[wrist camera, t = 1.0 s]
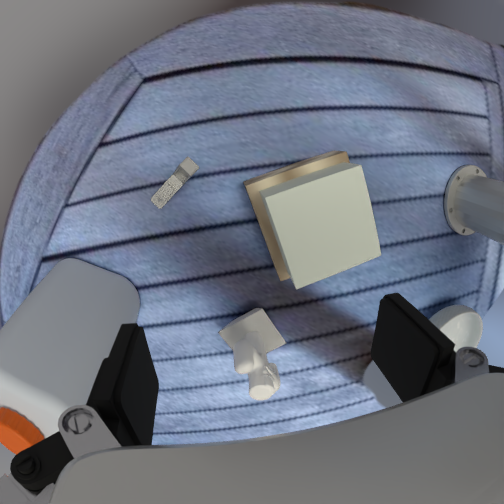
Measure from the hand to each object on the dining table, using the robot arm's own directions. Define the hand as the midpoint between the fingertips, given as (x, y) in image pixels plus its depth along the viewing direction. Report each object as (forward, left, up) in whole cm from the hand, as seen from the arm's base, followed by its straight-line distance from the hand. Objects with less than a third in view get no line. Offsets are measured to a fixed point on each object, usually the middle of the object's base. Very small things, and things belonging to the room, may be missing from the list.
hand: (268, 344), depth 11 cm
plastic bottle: (+27, +7, -31) cm, 41 cm away
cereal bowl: (-28, +38, -31) cm, 56 cm away
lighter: (+6, -5, -31) cm, 32 cm away
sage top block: (-9, +5, -26) cm, 28 cm away
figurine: (+5, +19, -31) cm, 36 cm away
